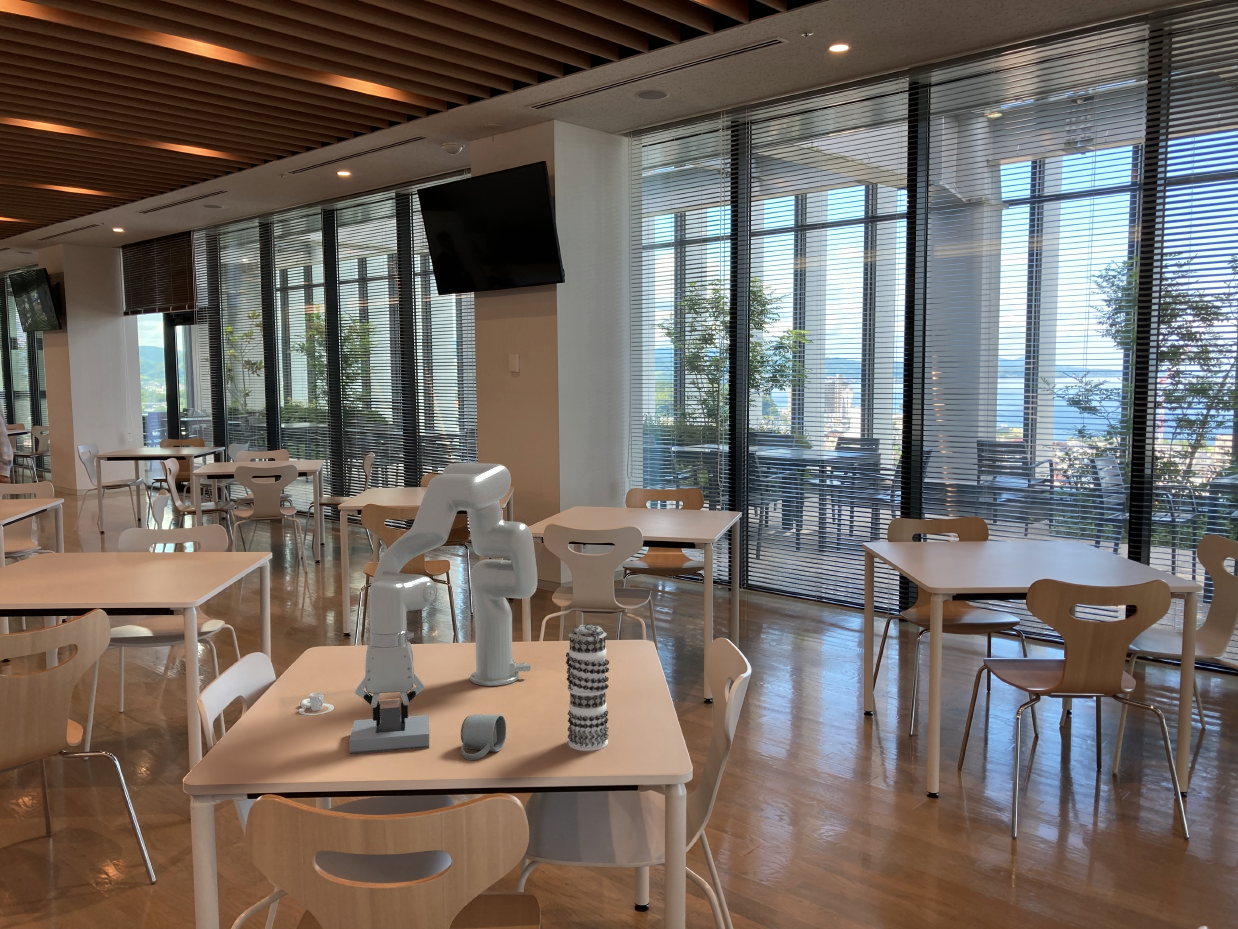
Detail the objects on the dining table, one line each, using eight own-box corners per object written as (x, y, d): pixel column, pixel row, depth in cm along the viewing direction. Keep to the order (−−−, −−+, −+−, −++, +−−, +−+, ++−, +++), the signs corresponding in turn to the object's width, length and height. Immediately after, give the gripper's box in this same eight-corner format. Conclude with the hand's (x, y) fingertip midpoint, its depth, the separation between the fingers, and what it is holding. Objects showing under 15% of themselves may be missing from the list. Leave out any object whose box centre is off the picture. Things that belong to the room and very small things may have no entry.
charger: (401, 734, 195) (400, 698, 195) (400, 741, 191) (399, 704, 191) (382, 736, 194) (380, 699, 194) (381, 742, 190) (380, 705, 190)
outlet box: (428, 728, 200) (428, 714, 200) (429, 747, 189) (428, 733, 188) (354, 733, 197) (354, 720, 197) (349, 754, 185) (349, 740, 185)
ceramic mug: (472, 740, 193) (472, 707, 192) (507, 743, 191) (506, 710, 190) (452, 759, 183) (451, 724, 182) (488, 763, 181) (487, 727, 180)
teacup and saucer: (298, 707, 216) (297, 690, 216) (332, 703, 219) (332, 686, 219) (299, 718, 208) (298, 701, 208) (335, 714, 211) (334, 697, 211)
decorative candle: (559, 740, 192) (558, 625, 191) (597, 732, 197) (596, 620, 195) (578, 754, 184) (577, 634, 183) (617, 746, 189) (617, 629, 187)
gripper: (429, 632, 197) (430, 713, 198) (349, 636, 193) (351, 719, 195) (429, 641, 190) (431, 725, 191) (346, 645, 186) (348, 732, 187)
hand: (390, 721), depth 193 cm, fingers open, 4 cm apart
